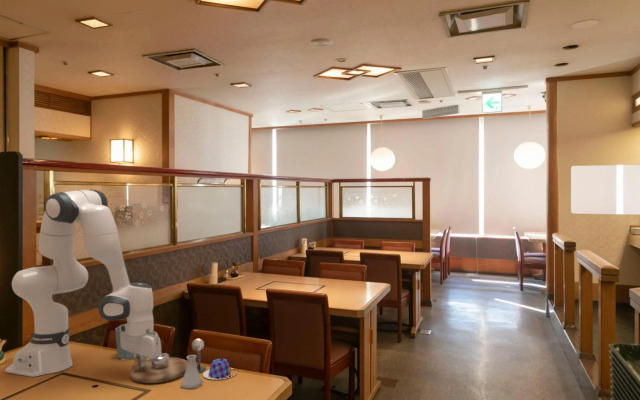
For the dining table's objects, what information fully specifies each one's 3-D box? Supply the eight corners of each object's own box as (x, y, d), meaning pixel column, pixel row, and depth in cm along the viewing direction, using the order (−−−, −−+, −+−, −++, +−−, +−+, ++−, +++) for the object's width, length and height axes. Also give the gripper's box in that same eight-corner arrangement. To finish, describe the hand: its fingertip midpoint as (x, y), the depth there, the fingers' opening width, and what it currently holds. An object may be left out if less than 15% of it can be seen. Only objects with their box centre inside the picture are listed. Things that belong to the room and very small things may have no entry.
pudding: (219, 366, 172) (219, 353, 172) (243, 373, 165) (243, 359, 165) (196, 377, 162) (196, 362, 162) (219, 384, 155) (219, 369, 155)
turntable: (139, 387, 150) (139, 366, 150) (123, 370, 165) (123, 351, 166) (196, 373, 162) (196, 354, 162) (176, 358, 178) (176, 341, 178)
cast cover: (154, 371, 159) (154, 358, 159) (149, 366, 164) (149, 353, 164) (171, 367, 163) (171, 354, 163) (165, 362, 168) (165, 350, 168)
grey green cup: (129, 361, 176) (129, 331, 176) (109, 359, 179) (109, 329, 180) (147, 353, 186) (147, 325, 186) (127, 351, 189) (127, 322, 189)
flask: (196, 390, 149) (196, 360, 149) (176, 388, 151) (176, 359, 151) (205, 382, 156) (206, 353, 156) (187, 380, 158) (187, 352, 158)
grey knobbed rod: (190, 372, 165) (190, 339, 165) (195, 368, 169) (195, 336, 169) (202, 373, 165) (202, 340, 165) (206, 369, 169) (206, 336, 169)
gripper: (165, 330, 157) (166, 369, 157) (132, 321, 169) (132, 358, 169) (149, 334, 152) (150, 375, 152) (116, 325, 164) (117, 363, 164)
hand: (140, 366), depth 161 cm, fingers closed
